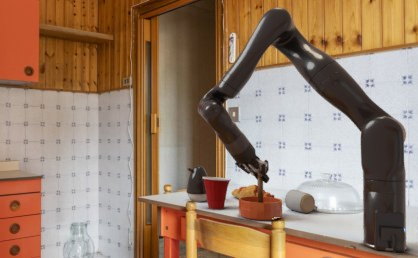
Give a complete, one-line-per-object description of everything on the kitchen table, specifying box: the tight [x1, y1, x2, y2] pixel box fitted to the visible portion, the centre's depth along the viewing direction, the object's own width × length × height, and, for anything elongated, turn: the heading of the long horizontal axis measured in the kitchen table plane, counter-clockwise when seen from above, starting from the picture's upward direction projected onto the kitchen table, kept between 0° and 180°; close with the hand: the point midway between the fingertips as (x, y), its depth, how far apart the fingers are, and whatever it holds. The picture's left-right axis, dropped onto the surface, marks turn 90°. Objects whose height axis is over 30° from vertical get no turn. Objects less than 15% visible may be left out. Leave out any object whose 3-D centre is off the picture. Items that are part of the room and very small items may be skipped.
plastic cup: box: [203, 176, 231, 210], centre depth 156 cm, size 11×11×12 cm
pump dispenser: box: [185, 165, 209, 203], centre depth 172 cm, size 10×10×15 cm
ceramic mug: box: [284, 189, 318, 214], centre depth 148 cm, size 11×8×8 cm
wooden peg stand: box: [257, 169, 264, 203], centre depth 137 cm, size 5×5×14 cm
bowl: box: [238, 196, 283, 222], centre depth 139 cm, size 14×14×6 cm
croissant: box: [231, 184, 275, 200], centre depth 174 cm, size 21×10×8 cm, turn 40°
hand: (264, 180), depth 138 cm, fingers closed on wooden peg stand
